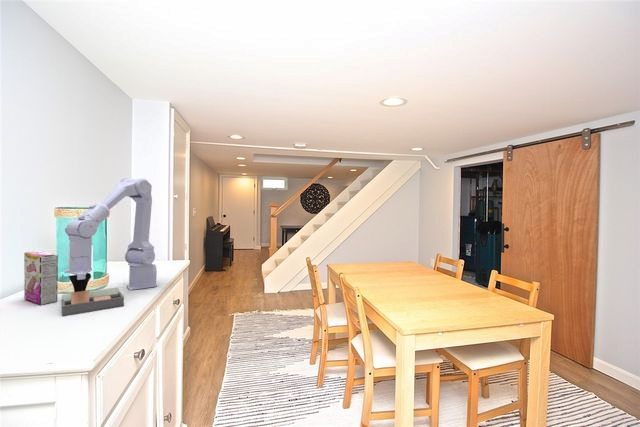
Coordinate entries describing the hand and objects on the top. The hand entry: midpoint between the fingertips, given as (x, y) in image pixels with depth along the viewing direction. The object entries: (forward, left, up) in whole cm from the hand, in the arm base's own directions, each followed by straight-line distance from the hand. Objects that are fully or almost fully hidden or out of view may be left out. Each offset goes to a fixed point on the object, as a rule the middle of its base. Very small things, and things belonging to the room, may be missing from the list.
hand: (79, 296), depth 98 cm
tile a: (-6, +5, -2) cm, 8 cm away
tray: (-3, +5, -3) cm, 7 cm away
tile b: (0, +2, -1) cm, 2 cm away
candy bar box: (+10, -12, -3) cm, 16 cm away
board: (-4, -4, -3) cm, 6 cm away
